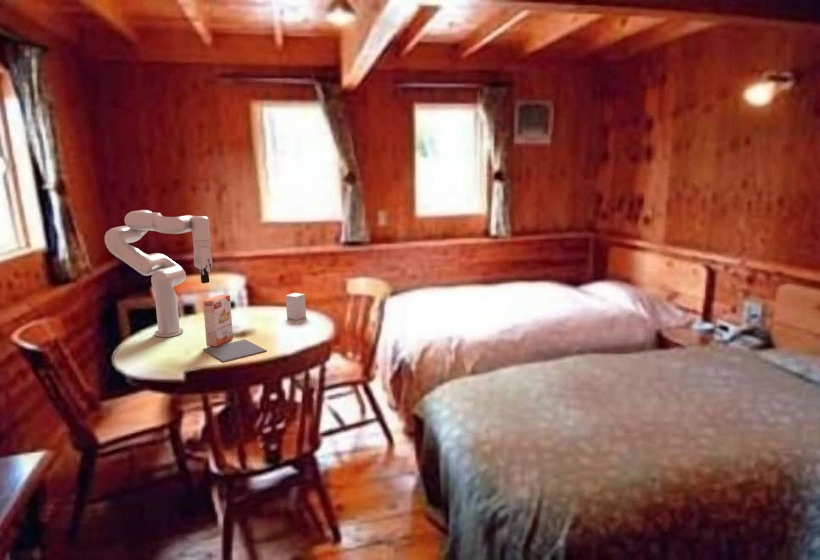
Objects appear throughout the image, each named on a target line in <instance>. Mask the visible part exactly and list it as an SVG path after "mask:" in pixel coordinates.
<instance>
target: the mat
mask: <svg viewBox="0 0 820 560" xmlns="http://www.w3.org/2000/svg"><path fill="white" fill-rule="evenodd" d="M203 350H204V352H205V353H207V354H208V353H209V354H208V355H210V354H211V356H212V357H213V356H214V358H215V359H217V360H218V361H220V362H221V363H226V362H229V361H235V360H237V359H242V358H246V357H247V358H248V357H250V356H254V355H257V354H262V353H265V352H267V351H268V350H267V349H265V348H263V347H261V346H259V345H257V344H255V343H253V342H251V341H249V340H247V339H241V340H237V341H232V342H228V343H227V342H226V343H223V344H221V345H219V346H208V347H206V348H203V349H202V351H203Z"/></svg>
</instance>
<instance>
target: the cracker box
mask: <svg viewBox="0 0 820 560" xmlns="http://www.w3.org/2000/svg"><path fill="white" fill-rule="evenodd" d="M231 303H232V302H231V295H230V294H219V295H215V296H213V297H210V298H207V299H205V300H203V301H202V304H203V305H202V306H203V318H204V330H205V340H206V341H205V342H206V347H214V346H219V345H223V344H226V343H227V342H228V341H230V340H233V339H234V336H233V335H234V333H233V321H232V318H233V317H232V307H231V305H232V304H231Z"/></svg>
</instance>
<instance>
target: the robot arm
mask: <svg viewBox="0 0 820 560" xmlns="http://www.w3.org/2000/svg"><path fill="white" fill-rule="evenodd" d="M124 224H125V225H121V226H120V225H119V226H116V227H111V228H109V230H107V231H106V232H105V235H104V243H105V246H106V248H107V250H108V251H109V252H110V253H111V254H112V255H113V256H115V257H116V258H118V259H120V260H121V261H122V262H124V264H127V265H128V266H129V267H131V268H132V269H134V270H135V271H136V272H138V273H139V274H140V275H142V276H146V277H148V276H151V279H150V281H151V286H152V289H153V294H154V299H155V309H156V322H157V323H156V324H157V330H156V331H154V335H155V336H156V337H159V338H170V337H176V336H180V335H181V334H183V333H184V329H183V328H182V327H180V320H179V319H180V318H179V305H178V304H179V303H178V296H177V293H176V291H175V289H174V287H175V286H178V285H181V284H182V283H183V282H185V280H186V277H187V274H186V271H185V270H184V268H183V267H182V266H181V265H179V264H178V263H176V262H175V261H173V260H172V258H169V257H168V256H167V255H165V254H163V253H159V252H155V253H150V254H147V253H145V252H143V251H142V250H140V249H139V248H137V247H135V246H134V245H131V244H132V243H135V242H137V241H139V240H141V239H142V238H143V236H145V235H146V234H147V233H148V232H149V231H151V232H158V233H162V234H172V235H173V234H174V235H178V234H185V233H189V232H192V243H193V266H194V267H195V268H196V269H199V273H200V282H201V284H208V283H210V272H211V269H212V268H213V256H212V250H211V247H212V241H211V229H210V228H211V227H210V218H209V217H207V216H205V215H198V216H196V215H190V214H186V215H181V216H163V214H161V212H152V211H151V210H148V209H140V210H132V211H130V212H128V213H126V215H125V216H124Z"/></svg>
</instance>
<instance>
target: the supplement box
mask: <svg viewBox="0 0 820 560" xmlns="http://www.w3.org/2000/svg"><path fill="white" fill-rule="evenodd" d="M285 304H286V307H285V309H286V319H288V320H289V319H290V320H295V321H298V320H301V319H304V318H307V309H306V308H307V307H306V294H305V293H300V292H294V293H290V294H286V295H285Z"/></svg>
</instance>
